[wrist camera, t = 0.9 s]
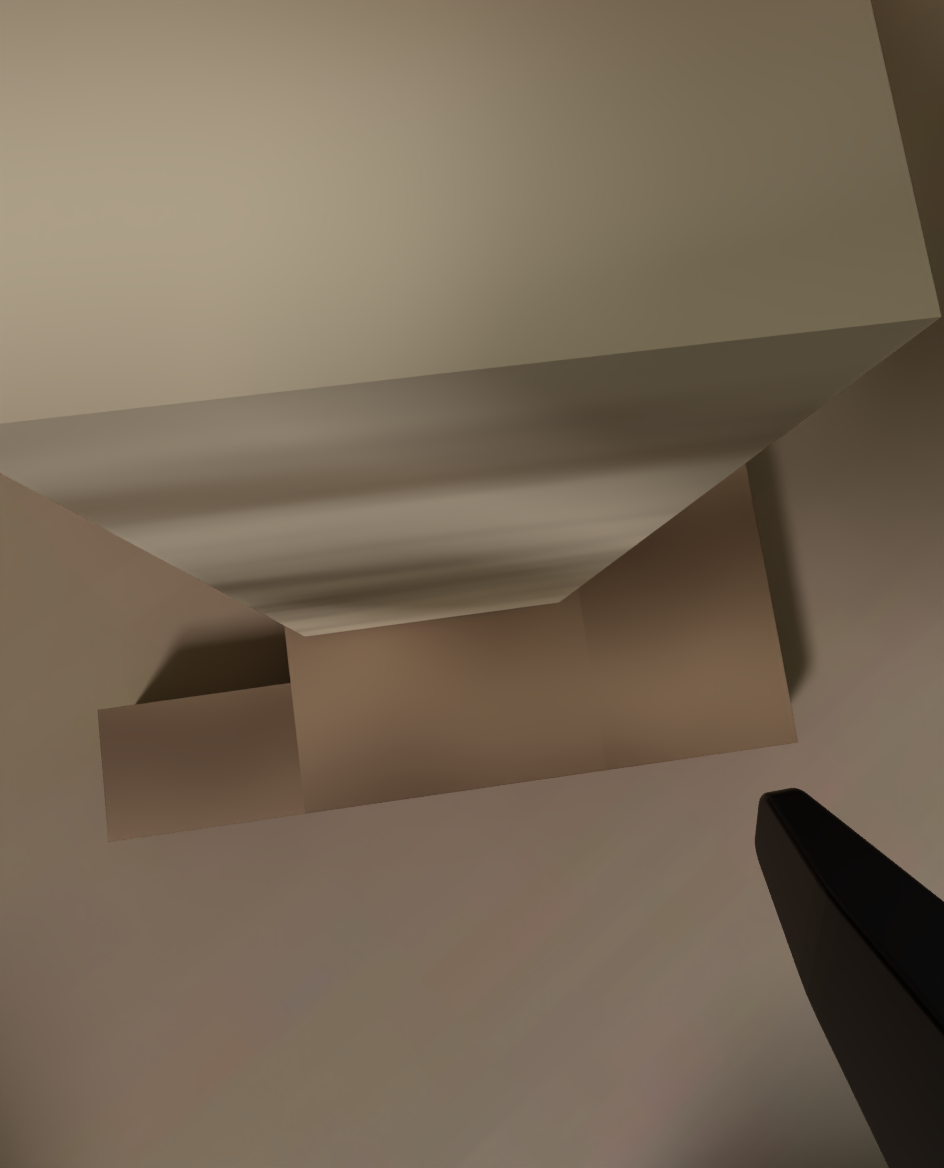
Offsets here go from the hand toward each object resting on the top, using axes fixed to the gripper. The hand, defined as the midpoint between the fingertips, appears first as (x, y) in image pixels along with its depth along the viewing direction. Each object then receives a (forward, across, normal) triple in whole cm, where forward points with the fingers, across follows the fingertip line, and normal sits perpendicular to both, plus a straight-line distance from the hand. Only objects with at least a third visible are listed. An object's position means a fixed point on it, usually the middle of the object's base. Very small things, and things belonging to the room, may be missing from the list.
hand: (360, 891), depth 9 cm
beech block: (+13, -1, +1) cm, 13 cm away
